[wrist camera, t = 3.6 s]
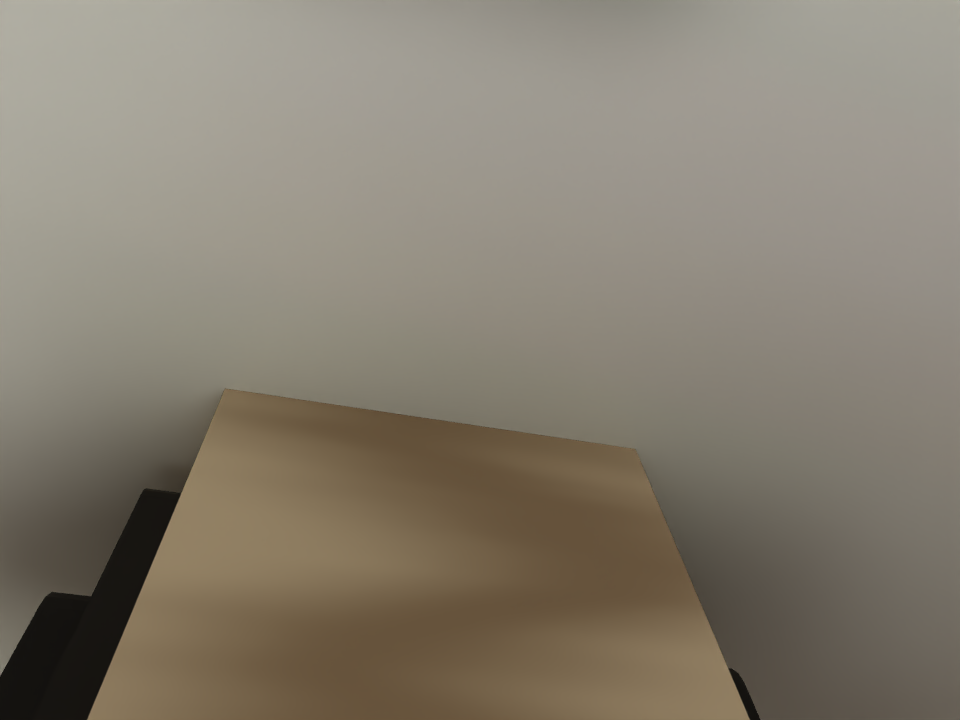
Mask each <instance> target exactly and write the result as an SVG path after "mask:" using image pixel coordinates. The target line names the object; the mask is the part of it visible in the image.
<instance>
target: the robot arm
mask: <svg viewBox="0 0 960 720" xmlns="http://www.w3.org/2000/svg"><path fill="white" fill-rule="evenodd" d="M180 496H181V493H177V492H169V491H161V490H153V489H145V490H143V492H142V494H141V495H140V498H139V500H138V502H137V504H136V506H135V508H134V510H133V512H132V514H131V516H130V518H129V520H128V522H127V524H126V526H125V528H124V530H123V532H122V535H121V537H120V539H119V541H118V543H117V545H116V547H115V549H114V551H113V553H112V555H111V557H110V559H109V561H108V563H107V565H106V567H105V570H104V572H103V574H102V576H101V578H100V580H99V582H98V584H97V586H96V588H95V590H94V592H93V594H92V596H82V595H73V594H64V593H56V592H51V593H50V594H48V595H47V596H46V597H45V598H44V600H43V601H42V603H41V604H40V606H39V608H38V609H37V611H36V613H35V615H34V617H33V618H32V620H31V622H30V624H29V626H28V627H27V629H26V631H25V633H24V635H23V636H22V638H21V640H20V642H19V644H18V645H17V647H16V649H15V651H14V653H13V654H12V656H11V658H10V660H9V662H8V663H7V665H6V667H5V669H4V671H3V672H2V674H1V676H0V720H87V719H88V717H89V714H90V712H91V709H92V707H93V705H94V702H95V700H96V697H97V695H98V693H99V690H100V688H101V685H102V683H103V681H104V678H105V676H106V673H107V671H108V669H109V666H110V664H111V661H112V659H113V657H114V654H115V652H116V649H117V647H118V645H119V642H120V640H121V637H122V635H123V633H124V630H125V628H126V625H127V623H128V621H129V618H130V616H131V613H132V611H133V609H134V606H135V604H136V601H137V599H138V597H139V594H140V592H141V589H142V587H143V585H144V582H145V580H146V577H147V575H148V573H149V570H150V568H151V565H152V563H153V561H154V558H155V556H156V553H157V551H158V549H159V546H160V544H161V541H162V539H163V537H164V534H165V532H166V529H167V527H168V525H169V522H170V520H171V517H172V515H173V513H174V510H175V508H176V505H177V503H178V501H179V498H180ZM728 669H729V672H730V674H731V676H732V679H733V681H734V684H735V686H736V688H737V691H738V693H739V695H740V698H741V700H742V702H743V705H744V707H745V710H746V712H747V714H748V717H749V719H750V720H760V718H759V715H758V713H757V711H756V709H755V706H754V704H753V702H752V699H751V697H750V695H749V693H748V690H747V688H746V686H745V683H744V682H743V680H742V678H741V677H740V675H739V674H738V673H737V672H736V671H734V670H733V669H731V668H728Z"/></svg>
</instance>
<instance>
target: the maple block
mask: <svg viewBox="0 0 960 720" xmlns="http://www.w3.org/2000/svg"><path fill="white" fill-rule="evenodd" d="M87 720H750V719H749V717H748V714H747V712H746V710H745V707H744V705H743V702H742V700H741V698H740V695H739V693H738V691H737V688H736V686H735V684H734V681H733V679H732V676H731V674H730V672H729V669H728V667H727V665H726V662H725V660H724V658H723V655H722V653H721V650H720V648H719V646H718V643H717V641H716V639H715V636H714V634H713V632H712V629H711V627H710V624H709V622H708V620H707V617H706V615H705V613H704V610H703V608H702V606H701V603H700V601H699V598H698V596H697V594H696V591H695V589H694V587H693V584H692V582H691V580H690V577H689V575H688V572H687V570H686V568H685V565H684V563H683V561H682V558H681V556H680V554H679V551H678V549H677V546H676V544H675V542H674V539H673V537H672V535H671V532H670V530H669V528H668V525H667V523H666V520H665V518H664V516H663V513H662V511H661V509H660V506H659V504H658V502H657V499H656V497H655V495H654V492H653V490H652V487H651V485H650V483H649V480H648V478H647V476H646V473H645V471H644V469H643V466H642V464H641V461H640V459H639V457H638V454H637V452H636V450H635V449H631V448H624V447H617V446H611V445H604V444H597V443H590V442H584V441H577V440H570V439H563V438H556V437H550V436H543V435H536V434H529V433H523V432H516V431H509V430H502V429H495V428H489V427H482V426H475V425H468V424H462V423H455V422H448V421H441V420H435V419H428V418H421V417H414V416H407V415H401V414H394V413H387V412H380V411H374V410H367V409H360V408H353V407H346V406H340V405H333V404H326V403H319V402H313V401H306V400H299V399H292V398H286V397H279V396H272V395H265V394H258V393H252V392H245V391H238V390H231V389H225V390H224V392H223V395H222V397H221V400H220V402H219V404H218V407H217V409H216V412H215V414H214V416H213V419H212V421H211V424H210V426H209V428H208V431H207V433H206V436H205V438H204V440H203V443H202V445H201V448H200V450H199V452H198V455H197V457H196V460H195V462H194V464H193V467H192V469H191V472H190V474H189V476H188V479H187V481H186V484H185V486H184V488H183V491H182V493H181V496H180V498H179V501H178V503H177V505H176V508H175V510H174V513H173V515H172V517H171V520H170V522H169V525H168V527H167V529H166V532H165V534H164V537H163V539H162V541H161V544H160V546H159V549H158V551H157V553H156V556H155V558H154V561H153V563H152V565H151V568H150V570H149V573H148V575H147V577H146V580H145V582H144V585H143V587H142V589H141V592H140V594H139V597H138V599H137V601H136V604H135V606H134V609H133V611H132V613H131V616H130V618H129V621H128V623H127V625H126V628H125V630H124V633H123V635H122V637H121V640H120V642H119V645H118V647H117V649H116V652H115V654H114V657H113V659H112V661H111V664H110V666H109V669H108V671H107V673H106V676H105V678H104V681H103V683H102V685H101V688H100V690H99V693H98V695H97V697H96V700H95V702H94V705H93V707H92V709H91V712H90V714H89V717H88V719H87Z"/></svg>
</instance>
